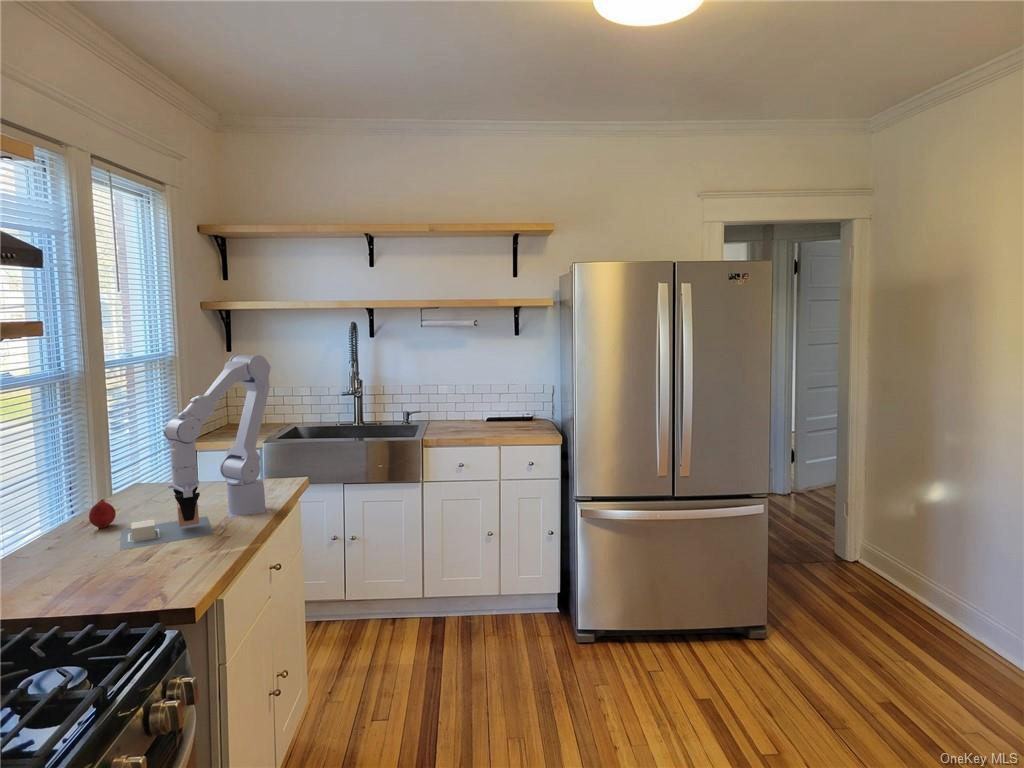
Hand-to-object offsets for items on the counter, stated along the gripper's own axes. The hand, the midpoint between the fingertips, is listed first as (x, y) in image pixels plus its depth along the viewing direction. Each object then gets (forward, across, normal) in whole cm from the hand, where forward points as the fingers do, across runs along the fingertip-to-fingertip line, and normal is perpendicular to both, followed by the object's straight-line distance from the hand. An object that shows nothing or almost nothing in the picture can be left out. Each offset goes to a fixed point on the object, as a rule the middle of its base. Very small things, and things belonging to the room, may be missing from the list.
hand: (188, 517), depth 164 cm
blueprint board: (+3, 0, -5) cm, 6 cm away
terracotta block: (+1, 0, 0) cm, 1 cm away
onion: (+4, -13, -19) cm, 23 cm away
